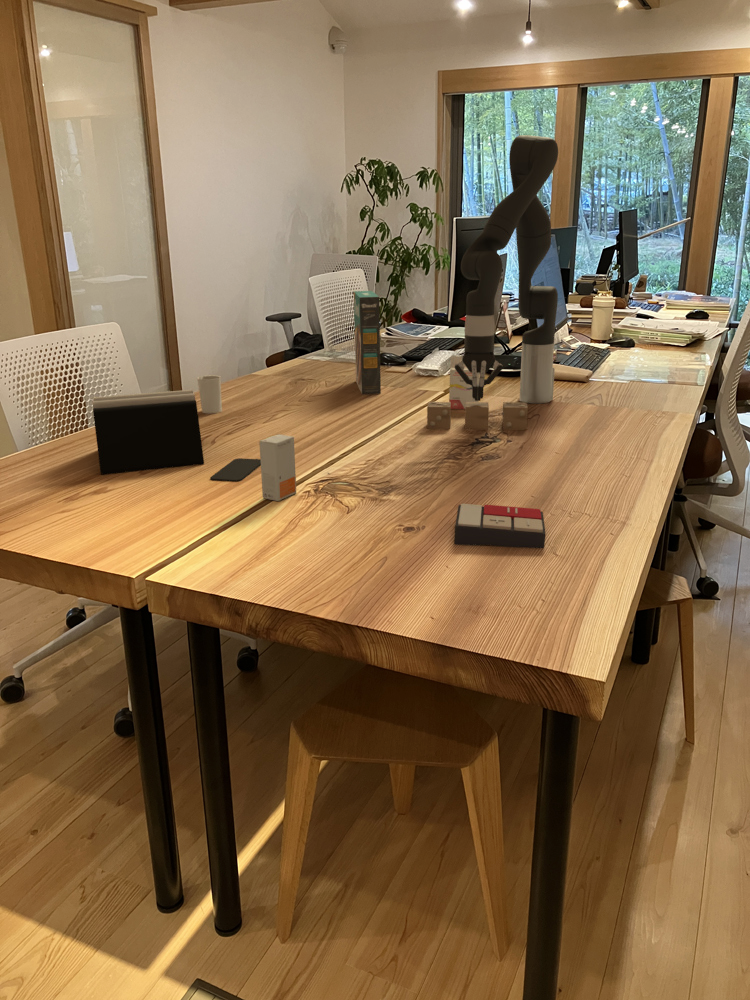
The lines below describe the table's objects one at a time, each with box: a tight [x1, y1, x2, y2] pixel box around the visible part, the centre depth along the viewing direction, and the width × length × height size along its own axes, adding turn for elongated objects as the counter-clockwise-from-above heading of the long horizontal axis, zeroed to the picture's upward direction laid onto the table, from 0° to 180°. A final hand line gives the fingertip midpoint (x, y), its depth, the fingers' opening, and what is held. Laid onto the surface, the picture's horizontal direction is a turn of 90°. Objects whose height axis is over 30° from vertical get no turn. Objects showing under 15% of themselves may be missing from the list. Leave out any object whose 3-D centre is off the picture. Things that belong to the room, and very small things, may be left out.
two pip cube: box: [502, 401, 529, 431], centre depth 205 cm, size 6×6×6 cm
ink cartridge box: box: [448, 355, 480, 410], centre depth 225 cm, size 9×5×15 cm, turn 84°
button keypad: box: [453, 503, 547, 549], centre depth 135 cm, size 11×4×15 cm
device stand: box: [92, 389, 205, 476], centre depth 183 cm, size 22×22×15 cm
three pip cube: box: [426, 401, 452, 430], centre depth 207 cm, size 6×6×6 cm
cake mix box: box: [353, 290, 382, 395], centre depth 253 cm, size 22×6×30 cm, turn 6°
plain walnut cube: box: [464, 401, 490, 431], centre depth 206 cm, size 6×6×6 cm
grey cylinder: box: [197, 374, 223, 414], centre depth 228 cm, size 7×7×10 cm
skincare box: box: [259, 433, 297, 502], centre depth 155 cm, size 6×4×12 cm
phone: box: [210, 457, 261, 483], centre depth 174 cm, size 7×1×15 cm
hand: (477, 400), depth 204 cm, fingers closed
